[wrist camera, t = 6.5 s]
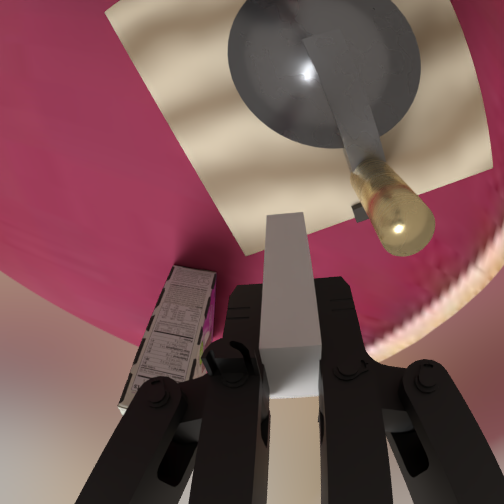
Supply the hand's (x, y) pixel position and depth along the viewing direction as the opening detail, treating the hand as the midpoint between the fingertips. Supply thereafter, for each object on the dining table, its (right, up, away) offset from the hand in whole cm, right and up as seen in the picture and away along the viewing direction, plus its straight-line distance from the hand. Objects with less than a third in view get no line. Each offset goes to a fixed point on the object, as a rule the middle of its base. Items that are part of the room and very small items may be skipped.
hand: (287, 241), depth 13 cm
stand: (+4, +13, +6) cm, 15 cm away
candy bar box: (-8, -6, +20) cm, 23 cm away
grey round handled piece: (+4, +10, +5) cm, 12 cm away
